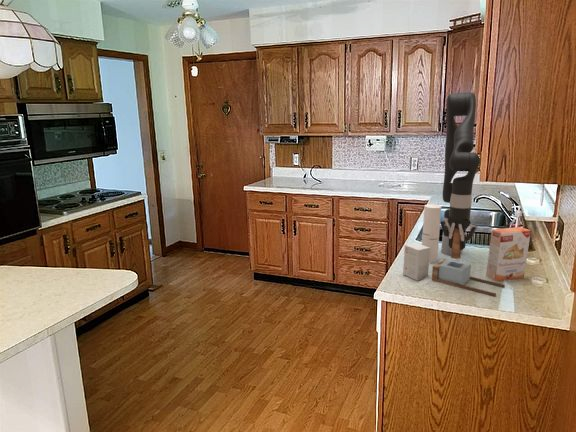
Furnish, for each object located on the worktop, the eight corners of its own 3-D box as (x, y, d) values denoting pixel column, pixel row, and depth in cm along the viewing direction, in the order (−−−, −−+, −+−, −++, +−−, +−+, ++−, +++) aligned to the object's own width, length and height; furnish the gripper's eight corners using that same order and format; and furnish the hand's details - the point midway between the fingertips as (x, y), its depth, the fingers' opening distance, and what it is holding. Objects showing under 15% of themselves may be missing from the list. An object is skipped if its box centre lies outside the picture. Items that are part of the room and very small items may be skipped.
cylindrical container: (424, 256, 208) (428, 203, 201) (439, 259, 203) (444, 205, 197) (418, 260, 202) (421, 206, 196) (433, 263, 198) (437, 208, 192)
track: (442, 274, 185) (444, 258, 183) (504, 290, 170) (506, 272, 168) (431, 282, 177) (432, 266, 175) (494, 299, 162) (497, 281, 160)
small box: (428, 277, 182) (430, 247, 179) (416, 281, 179) (418, 250, 176) (413, 271, 189) (415, 242, 186) (402, 274, 186) (404, 244, 183)
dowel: (453, 255, 176) (455, 226, 174) (461, 257, 174) (464, 227, 171) (449, 257, 174) (452, 227, 171) (458, 259, 172) (461, 229, 169)
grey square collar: (447, 274, 183) (448, 259, 181) (469, 279, 177) (471, 264, 175) (438, 280, 176) (439, 265, 175) (460, 286, 170) (462, 270, 169)
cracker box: (495, 284, 176) (501, 233, 170) (485, 278, 181) (490, 228, 176) (525, 280, 179) (531, 230, 174) (513, 274, 185) (520, 226, 180)
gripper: (483, 206, 167) (478, 250, 172) (446, 201, 176) (442, 242, 181) (476, 209, 162) (471, 255, 166) (438, 204, 171) (434, 247, 175)
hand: (456, 248), depth 173 cm, fingers closed on dowel, 3 cm apart
